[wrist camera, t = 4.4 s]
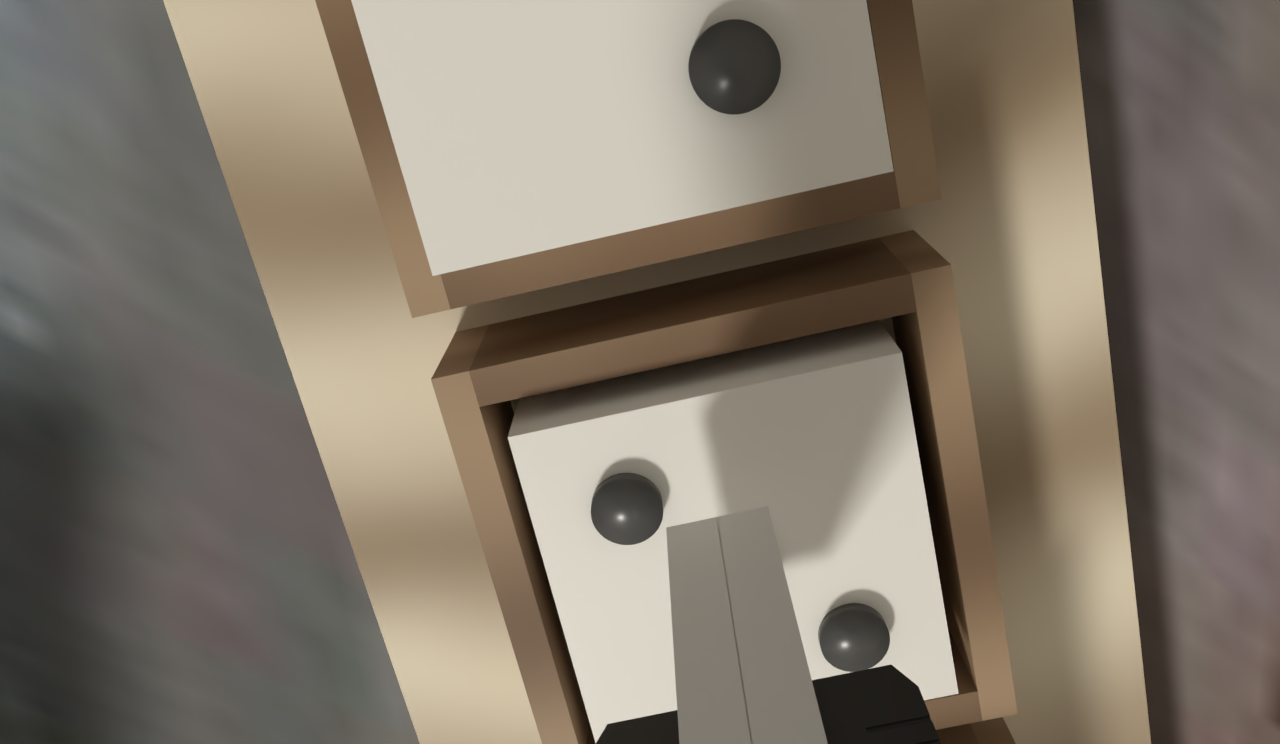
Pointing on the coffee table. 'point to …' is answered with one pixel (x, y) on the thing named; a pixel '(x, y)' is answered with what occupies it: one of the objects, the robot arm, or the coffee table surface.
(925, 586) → the key three
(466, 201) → the key two
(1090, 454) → the board
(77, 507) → the coffee table surface
